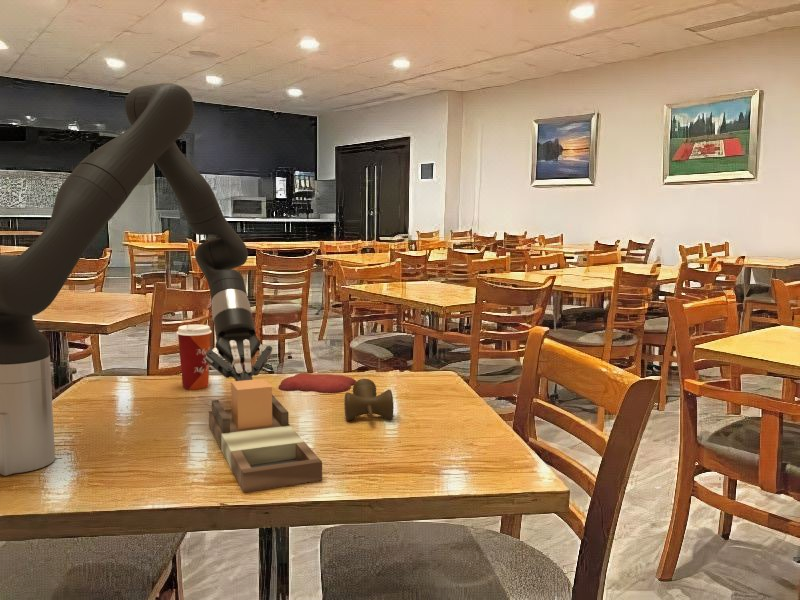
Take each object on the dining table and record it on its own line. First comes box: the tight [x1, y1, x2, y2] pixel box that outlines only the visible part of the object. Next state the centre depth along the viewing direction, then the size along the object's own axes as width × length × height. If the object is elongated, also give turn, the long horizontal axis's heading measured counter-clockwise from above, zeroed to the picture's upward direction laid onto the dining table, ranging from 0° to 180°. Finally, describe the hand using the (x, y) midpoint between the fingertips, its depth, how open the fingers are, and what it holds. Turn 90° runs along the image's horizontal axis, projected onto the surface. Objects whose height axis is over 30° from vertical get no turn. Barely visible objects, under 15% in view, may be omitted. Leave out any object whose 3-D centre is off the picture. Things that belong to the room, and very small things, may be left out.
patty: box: [277, 372, 357, 394], centre depth 159 cm, size 18×14×2 cm
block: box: [230, 378, 273, 429], centre depth 121 cm, size 6×6×7 cm
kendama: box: [343, 378, 394, 422], centre depth 138 cm, size 6×10×20 cm
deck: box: [208, 394, 323, 493], centre depth 115 cm, size 32×12×6 cm, turn 24°
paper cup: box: [176, 323, 213, 391], centre depth 155 cm, size 8×8×14 cm
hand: (246, 393), depth 124 cm, fingers closed
